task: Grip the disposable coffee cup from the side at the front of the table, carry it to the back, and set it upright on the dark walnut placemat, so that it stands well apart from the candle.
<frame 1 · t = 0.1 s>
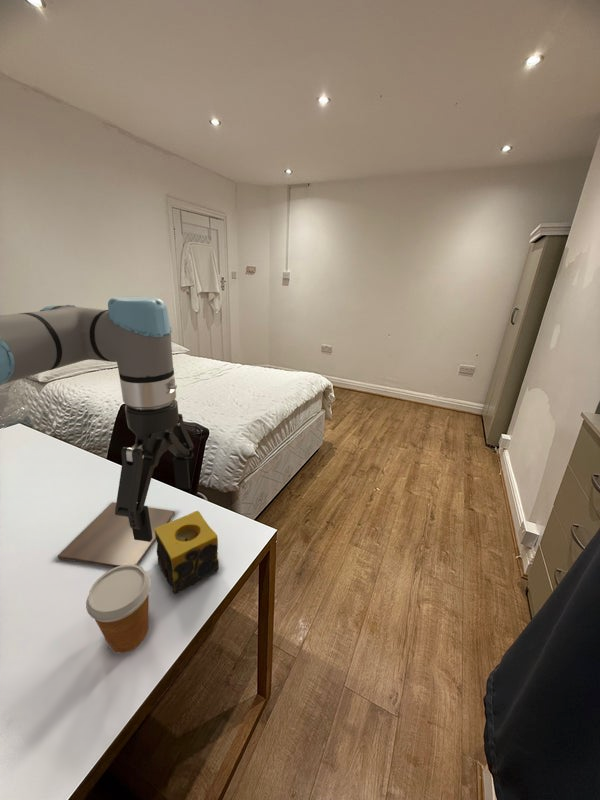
hand: (165, 510, 58), 21 cm above the table, tool pointing down, fingers open, 13 cm apart
placemat: (122, 533, 79), on the table
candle: (188, 567, 71), on the table
disposable coffee cup: (129, 634, 58), on the table
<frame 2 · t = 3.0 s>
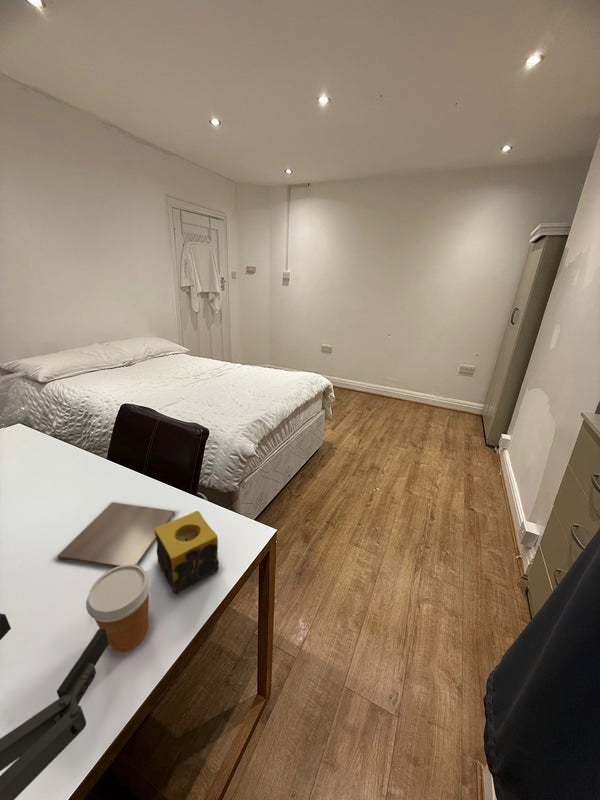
hand: (54, 628, 41), 18 cm above the table, tool horizontal, fingers open, 13 cm apart
nothing on the table moved.
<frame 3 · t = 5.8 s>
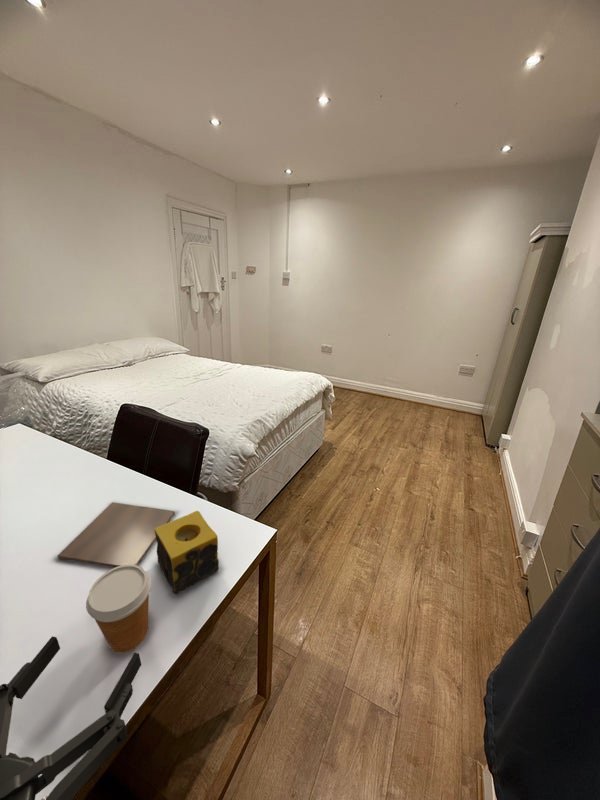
hand: (96, 650, 49), 6 cm above the table, tool horizontal, fingers open, 13 cm apart
nothing on the table moved.
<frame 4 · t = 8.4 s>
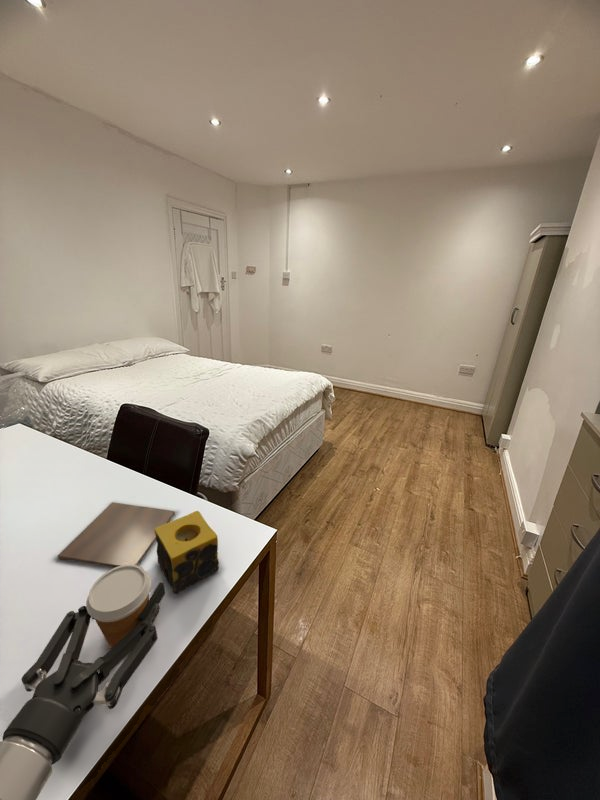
hand: (140, 584, 59), 7 cm above the table, tool horizontal, fingers closed on disposable coffee cup, 8 cm apart
disposable coffee cup: (129, 634, 58), on the table, touching gripper
everything else where it was.
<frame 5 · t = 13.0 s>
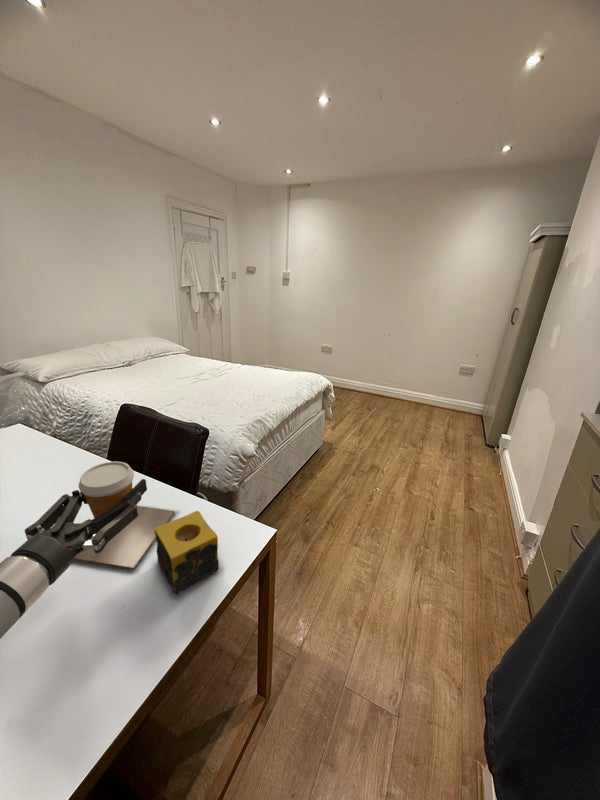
hand: (125, 481, 69), 18 cm above the table, tool horizontal, fingers closed on disposable coffee cup, 8 cm apart
disposable coffee cup: (116, 522, 67), point 11 cm above the table, touching gripper
everything else where it was.
when the fingers open (7 cm above the table, at t = 17.4 s): disposable coffee cup stays where it is, resting on placemat.
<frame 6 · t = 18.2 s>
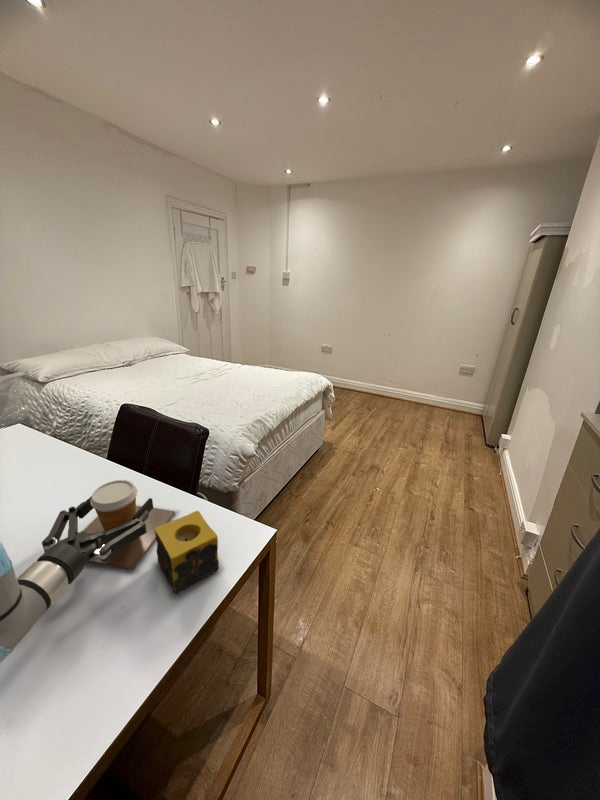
hand: (125, 499, 79), 8 cm above the table, tool horizontal, fingers open, 13 cm apart
disposable coffee cup: (121, 532, 78), point 1 cm above the table, touching placemat
everything else where it was.
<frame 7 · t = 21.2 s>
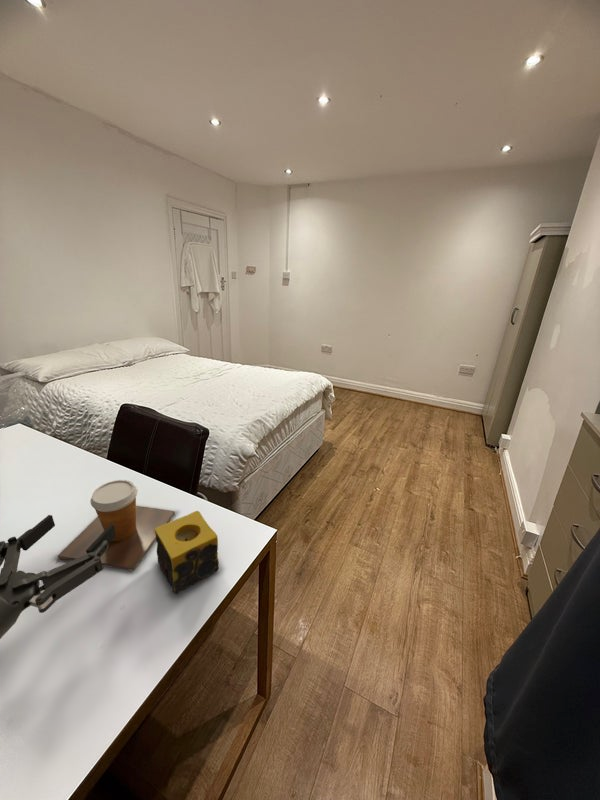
hand: (82, 524, 65), 12 cm above the table, tool horizontal, fingers open, 13 cm apart
nothing on the table moved.
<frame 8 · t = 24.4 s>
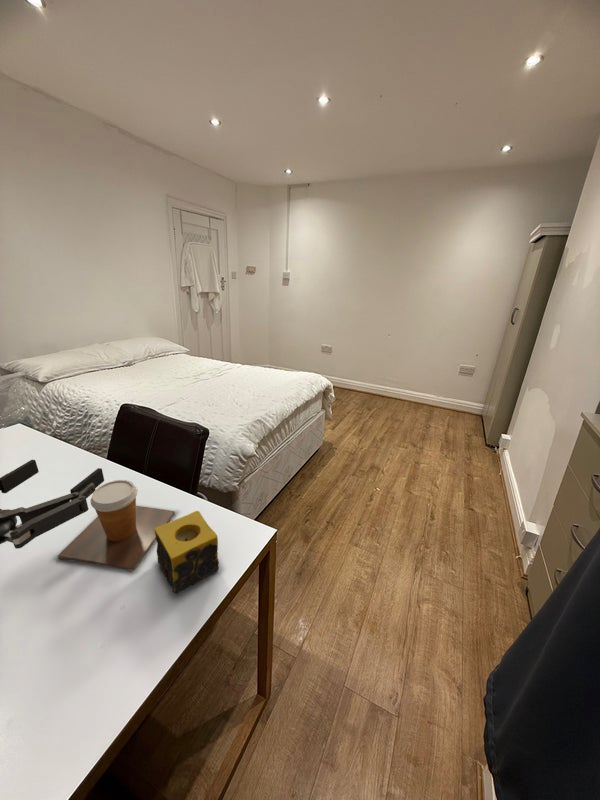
hand: (68, 469, 60), 25 cm above the table, tool horizontal, fingers open, 13 cm apart
nothing on the table moved.
at the end: disposable coffee cup inside the target area on the placemat (0.1 cm from its centre), point 0.6 cm above the placemat's base; disposable coffee cup tilted 0°; the gripper is holding nothing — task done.
